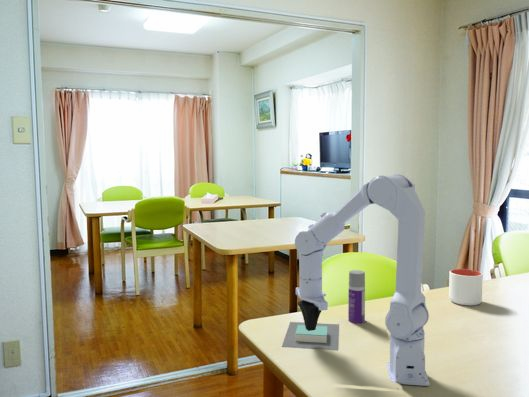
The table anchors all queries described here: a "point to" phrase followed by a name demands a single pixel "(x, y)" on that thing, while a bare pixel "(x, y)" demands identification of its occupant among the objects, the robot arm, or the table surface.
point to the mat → (330, 345)
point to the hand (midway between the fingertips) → (310, 329)
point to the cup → (465, 287)
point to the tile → (311, 334)
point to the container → (356, 296)
